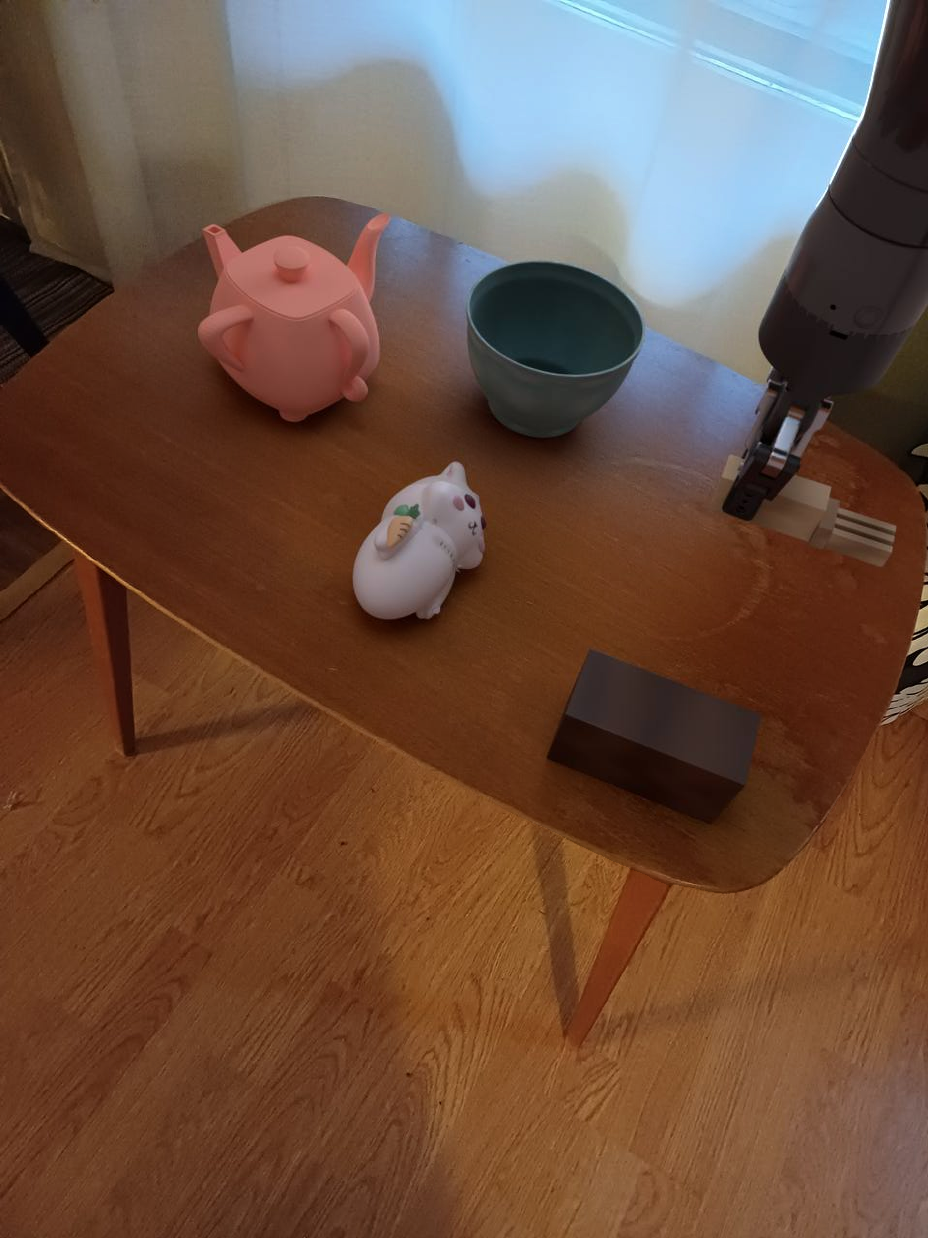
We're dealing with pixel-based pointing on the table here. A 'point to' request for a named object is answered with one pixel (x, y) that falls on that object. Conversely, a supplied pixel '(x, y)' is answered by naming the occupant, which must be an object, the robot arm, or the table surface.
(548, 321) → the flower pot
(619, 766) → the stand
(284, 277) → the teapot
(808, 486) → the fork
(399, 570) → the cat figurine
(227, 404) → the table surface
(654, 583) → the table surface
